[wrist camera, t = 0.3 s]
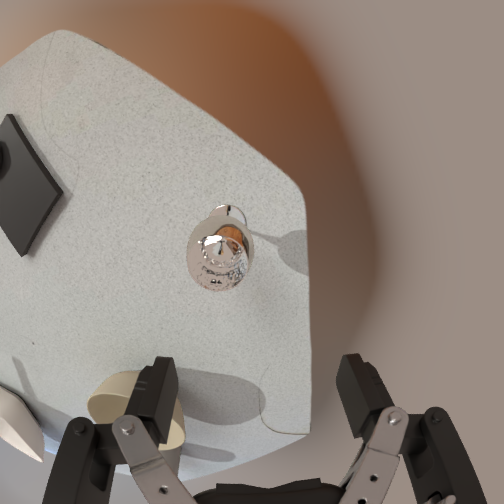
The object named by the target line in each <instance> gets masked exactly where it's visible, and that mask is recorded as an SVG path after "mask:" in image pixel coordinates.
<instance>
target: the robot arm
mask: <svg viewBox="0 0 504 504" xmlns="http://www.w3.org/2000/svg"><path fill="white" fill-rule="evenodd" d="M336 386H337V389H338V392H339V395H340V398H341V401H342V404H343V407H344V410H345V413H346V415H347V418H348V421H349V424H350V427H351V430H352V433H353V436H354V438H359V437H362V438H363V443H362V445H361V447H360V449H359V451H358V453H357V455H356V457H355V459H354V461H353V463H352V465H351V467H350V469H349V470H348V472H347V474H346V476H345V477H344V478H343V480H342V481H341V483H340V485H339V486H336V485H332V484H327V483H321V481H320V478H316V479H308V480H301V481H294V482H291V483H288V484H285V485H281V486H278V487H274V488H270V489H268V488H261V487H255V486H249V485H245V484H218V483H217V484H216V488H215V489H210V490H207V491H203V492H201V493H198V494H196V495H195V496H193V497H192V496H191V494H190V493H189V492H188V491H187V489H186V488H185V487H184V485H183V484H182V483H181V481H180V480H179V479H178V477H177V476H176V475H175V473H174V472H173V470H172V469H171V467H170V466H169V464H168V463H167V462H166V460H165V459H164V457H163V456H162V455H161V453H160V452H159V450H158V449H159V444H166V445H167V441H168V435H169V430H170V426H171V421H172V416H173V411H174V406H175V402H176V397H177V393H178V377H177V373H176V368H175V364H174V360H173V358H172V357H160V356H157V357H156V359H155V362H154V364H153V366H146V367H145V368H144V369H143V370H142V371H141V372H140V373H139V375H138V378H137V381H136V383H135V386H134V389H133V391H132V394H131V397H130V399H129V402H128V405H127V407H126V410H125V413H124V415H123V416H120V417H118V418H117V419H116V420H115V421H114V422H113V423H108V424H93V423H92V421H91V420H89V419H88V418H85V417H77V418H74V419H72V420H71V421H70V422H69V423H68V425H67V428H66V430H65V433H64V436H63V438H62V441H61V444H60V446H59V449H58V452H57V455H56V458H55V461H54V464H53V467H52V470H51V474H50V477H49V480H48V483H47V487H46V491H45V494H44V498H43V502H42V504H109V498H110V492H111V487H112V482H113V476H114V471H115V467H116V465H118V464H128V465H129V467H130V472H131V474H132V476H133V478H134V480H135V481H136V483H137V485H138V487H139V488H140V490H141V492H142V493H143V495H144V497H145V498H146V500H147V501H148V503H149V504H382V502H383V500H384V498H385V495H386V494H387V491H388V489H389V486H390V484H391V482H392V479H393V477H394V474H395V471H396V469H397V466H398V464H399V461H400V457H399V456H398V454H402V455H403V458H404V461H405V464H406V467H407V471H408V474H409V477H410V480H411V483H412V487H413V490H414V494H415V497H416V501H417V504H487V502H486V499H485V496H484V493H483V491H482V488H481V485H480V483H479V480H478V478H477V475H476V473H475V470H474V468H473V466H472V463H471V461H470V459H469V456H468V454H467V452H466V450H465V448H464V445H463V443H462V442H461V439H460V437H459V435H458V433H457V431H456V429H455V427H454V425H453V423H452V421H451V419H450V417H449V415H448V414H447V412H446V411H445V410H444V409H442V408H440V407H431V408H429V409H428V410H427V411H426V412H425V414H407V413H406V412H405V411H404V410H403V409H402V408H400V407H396V406H395V405H394V403H393V401H392V399H391V397H390V395H389V393H388V391H387V389H386V387H385V385H384V384H383V381H382V379H381V378H380V376H379V374H378V372H377V370H376V368H375V367H374V366H372V365H371V364H370V363H369V362H365V363H364V362H363V360H362V358H361V356H360V354H358V353H356V354H348V355H343V356H342V359H341V363H340V366H339V369H338V373H337V376H336Z"/></svg>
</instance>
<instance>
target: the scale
mask: <svg viewBox="0 0 504 504" xmlns="http://www.w3.org/2000/svg"><path fill="white" fill-rule="evenodd" d="M62 193H63V191H62V190H61V188H60V187H59V186H58V184H57V183H56V182H55V180H54V179H53V177H52V176H51V175H50V173H49V172H48V170H47V169H46V167H45V166H44V164H43V163H42V161H41V160H40V159H39V157H38V155H37V154H36V152H35V151H34V149H33V148H32V146H31V145H30V143H29V141H28V140H27V138H26V137H25V135H24V133H23V132H22V130H21V128H20V127H19V125H18V123H17V122H16V120H15V118H14V116H13V114H6V116H5V118H4V120H3V121H2V123H1V125H0V226H1V228H2V230H3V231H4V233H5V234H6V236H7V237H8V239H9V240H10V242H11V243H12V245H13V246H14V248H15V249H16V251H17V252H18V253H19V255H20V256H21V257H23V256H24V255H26V254H27V252H28V250H29V248H30V246H31V244H32V242H33V240H34V239H35V237H36V235H37V233H38V231H39V230H40V228H41V226H42V225H43V223H44V221H45V220H46V218H47V216H48V215H49V213H50V212H51V210H52V208H53V207H54V205H55V204H56V202H57V201H58V199H59V198H60V196H61V195H62Z"/></svg>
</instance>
